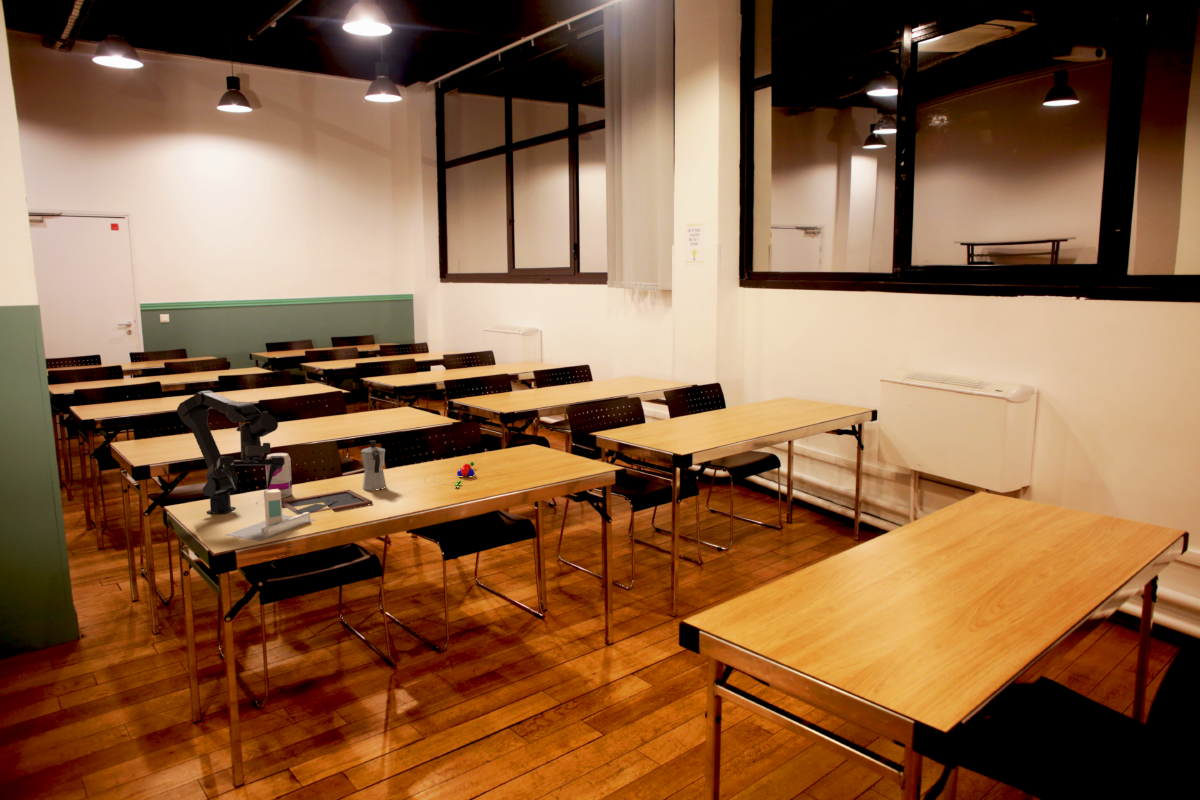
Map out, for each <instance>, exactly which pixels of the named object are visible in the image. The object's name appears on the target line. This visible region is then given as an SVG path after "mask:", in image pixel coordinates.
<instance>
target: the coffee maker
mask: <svg viewBox="0 0 1200 800" xmlns="http://www.w3.org/2000/svg"><path fill="white" fill-rule="evenodd" d="M376 443H377V440H369V444H370V447H366V448H363V449H362V450H361V451H360V453H361V455H360V456H361V460H362V464H363V468H364V474H363V483H362V490H364V491H366V490H376V489H382V488H384V487H386V488H387V483H386V479H385V473H384V469H383V467H384V465H385V455H386V454H385V453H386V449H385V448H382V447H378V446H376Z"/></svg>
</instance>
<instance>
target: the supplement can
mask: <svg viewBox="0 0 1200 800" xmlns="http://www.w3.org/2000/svg"><path fill="white" fill-rule="evenodd" d="M271 456H283V457H284V459H285V464H284V465H283V467H282V468H280V469H278V470H277V471H275V472H274V474H273V477H272V480H271V483H270V486H269V489H267V488H266V490H272V489H279V490H280V491H281V499H285V498H288V497H291V495H292V494H293V484H292V483H293V482H292V466H291V465H292V464H291V460H292V459H291V457H290V455H289V453H287V452H274V453H273V452H272V453H268V454H267V455H266V458H265V459H269V458H270V457H271ZM268 468H269V467H268V465H265V477H266V481H267V469H268Z"/></svg>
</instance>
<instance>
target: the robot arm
mask: <svg viewBox="0 0 1200 800" xmlns="http://www.w3.org/2000/svg"><path fill="white" fill-rule="evenodd" d="M210 409H213V410H216V411H218V412H221V413H223V414H225V415H226V417H227V419H229V420H230V421H232V422H233V423H235V424H239V423H240V424H239V426H238V427H237V428H236V429H235V430H236V431H237V432H239V435H240V437H239V438H240V439H239V441H240V458H239V459H238V458H237V459H236V458H235V457H234V455H221V452H220V449H219V447H218V446H217V442H216V440H215V438H214V435H213V434H212V431H211V429H210V426H209V424H208V418H209V415H210V414H209V410H210ZM176 412H177V413H176V414H177V415H178V416H179V418H180V421H181V422H182V423H183V424H184V425H185V426H187V427H188V428H190V430H191V431H192V433H193V436H194V438H195V440H196V443H197V445H198V447H199V450H200V452H201V454H202V457H203V459H204V462H205V463H206V464H205V465H206V466H207V471H206V476H205V477H206V481H207V482H206V483H205V484H204V486H203V487H202V490H201V491H202V493H203V495H204V496H206V497H207V496H208V497H209V505H210V509H209V510H207V511H206V514H220V515H221V514H228V513H229V512H231V511H233V510H235V509H236V506H232V504H231V503H232V502H231V492H236V490H238V488H237V487H238V479H239V478H238V475H237V474H238V473H237V472H236V466H237V467H238V466H266V465H268V467H269V468H268V469H267V480H266V490H267V489H269V486H270V483H271V480H272V477H273V474H274V472H275V471H277V470H278V469H280V468H282V467H283V465H284V464H285V459H284V457H283V456H271V457H270V458H269V459H266V458H265V459H264V458H263V457H264V456H265V454H271V442H262V443H261V438H263V437H265V436H267V435H269V434H271V433H273V432H275V431H276V430H278V427H279V422H278V420H277V419H276V417H274V416H273V415H272V414H270V413H269V411H268V410H267V411H260V409H258V408H257V407H256V405H255V404H254V403H253V402H248V401H235V400H234V399H233V400H232V399H230V398H227V397H225V396H222V395H220V394H218V393H215V392H214V391H212V390H201V391H198V392H196V393H194V395H193V396H190V397H188V398H187V399H185V400H184V401H182V402H180V403H179V404H178V406H177V408H176Z"/></svg>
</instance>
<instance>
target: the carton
mask: <svg viewBox="0 0 1200 800" xmlns="http://www.w3.org/2000/svg"><path fill="white" fill-rule="evenodd" d="M263 498H264V499H263V500H264V515H265V521H266V526H269V525H272V524H275V523H277V522H280V521H282V515H283V508H282V504H281V501H282V498H281V491H280V490H279V489H272V490H267V489H266V490H263Z"/></svg>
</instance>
